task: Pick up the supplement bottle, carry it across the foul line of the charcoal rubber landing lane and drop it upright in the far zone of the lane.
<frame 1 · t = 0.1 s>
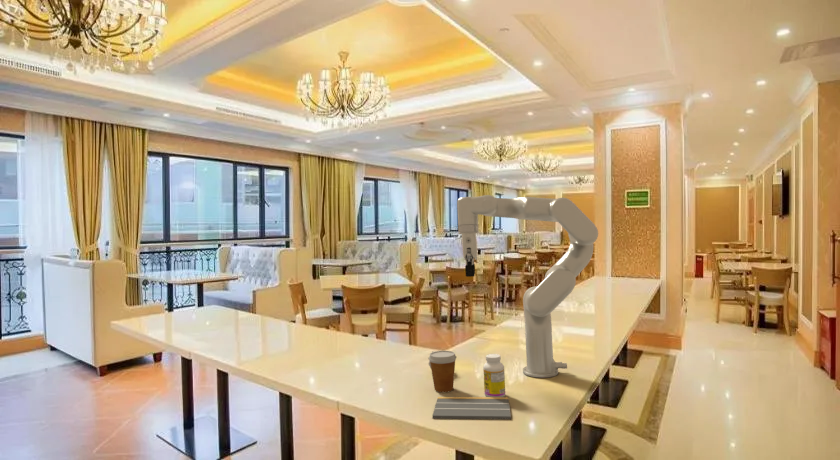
hand: (470, 275, 169), 37 cm above the table, tool pointing down, fingers open, 9 cm apart
die: (440, 373, 171), on the table
lane: (472, 408, 134), on the table
disposable coffee cup: (443, 389, 153), on the table
supplement bottle: (495, 396, 144), on the table
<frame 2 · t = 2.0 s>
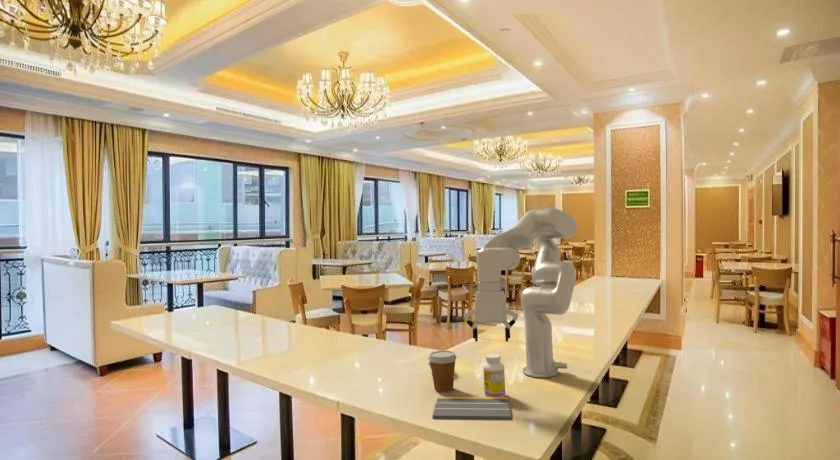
hand: (491, 340, 144), 18 cm above the table, tool pointing down, fingers open, 9 cm apart
nothing on the table moved.
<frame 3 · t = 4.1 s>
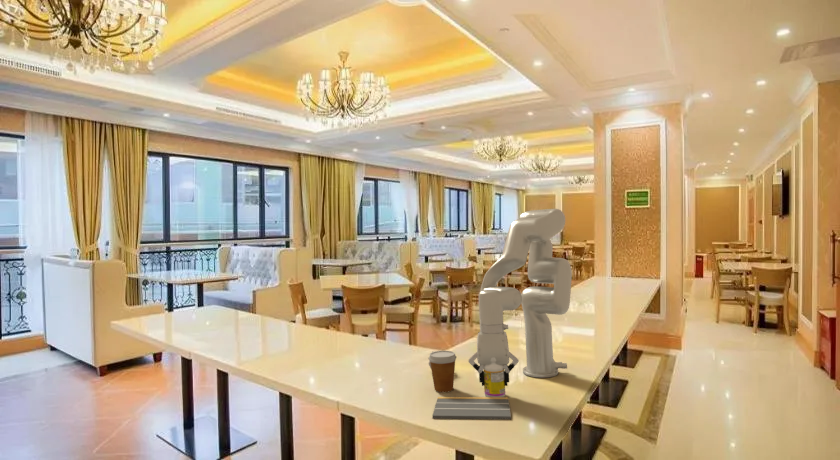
hand: (494, 384, 144), 4 cm above the table, tool pointing down, fingers closed on supplement bottle, 6 cm apart
supplement bottle: (495, 396, 144), on the table, touching gripper
everything else where it was.
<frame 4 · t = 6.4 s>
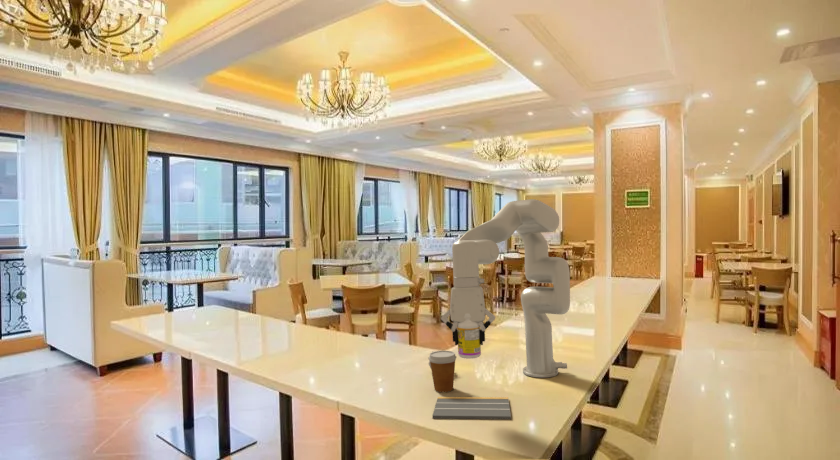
hand: (469, 343, 132), 20 cm above the table, tool pointing down, fingers closed on supplement bottle, 6 cm apart
supplement bottle: (469, 356, 132), point 16 cm above the table, touching gripper
everything else where it was.
when the fingers open (6 cm above the table, at t = 8.8 s): supplement bottle drops 2 cm, resting on lane.
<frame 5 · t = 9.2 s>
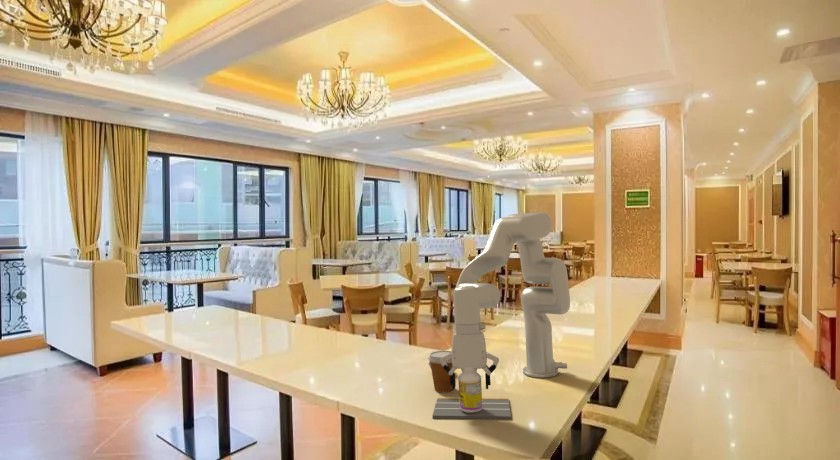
hand: (470, 387, 131), 7 cm above the table, tool pointing down, fingers open, 9 cm apart
supplement bottle: (471, 410, 131), point 1 cm above the table, touching lane
everything else where it was.
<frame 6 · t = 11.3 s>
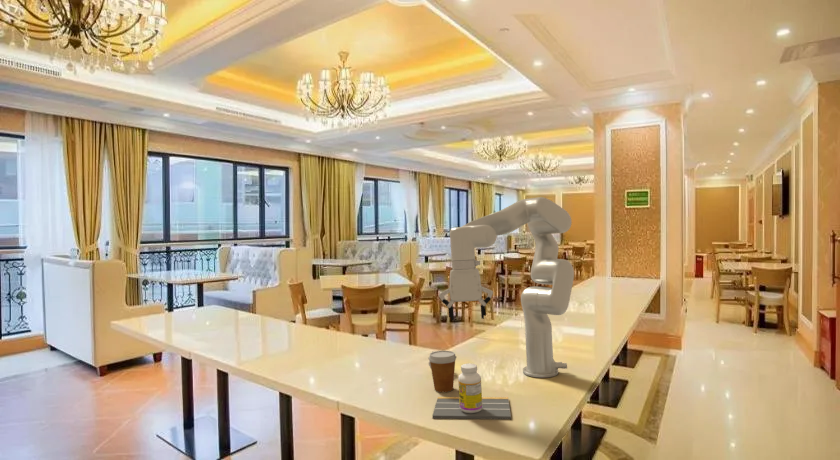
hand: (467, 318, 144), 25 cm above the table, tool pointing down, fingers open, 9 cm apart
nothing on the table moved.
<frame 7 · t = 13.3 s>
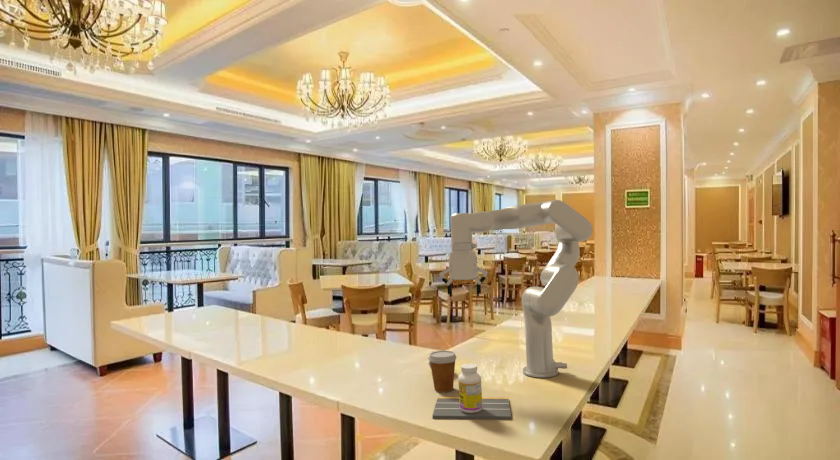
hand: (464, 295, 160), 30 cm above the table, tool pointing down, fingers open, 9 cm apart
nothing on the table moved.
at the end: supplement bottle inside the target area on the lane (1.2 cm from its centre), point 0.7 cm above the lane's base; supplement bottle tilted 2°; the gripper is holding nothing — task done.
